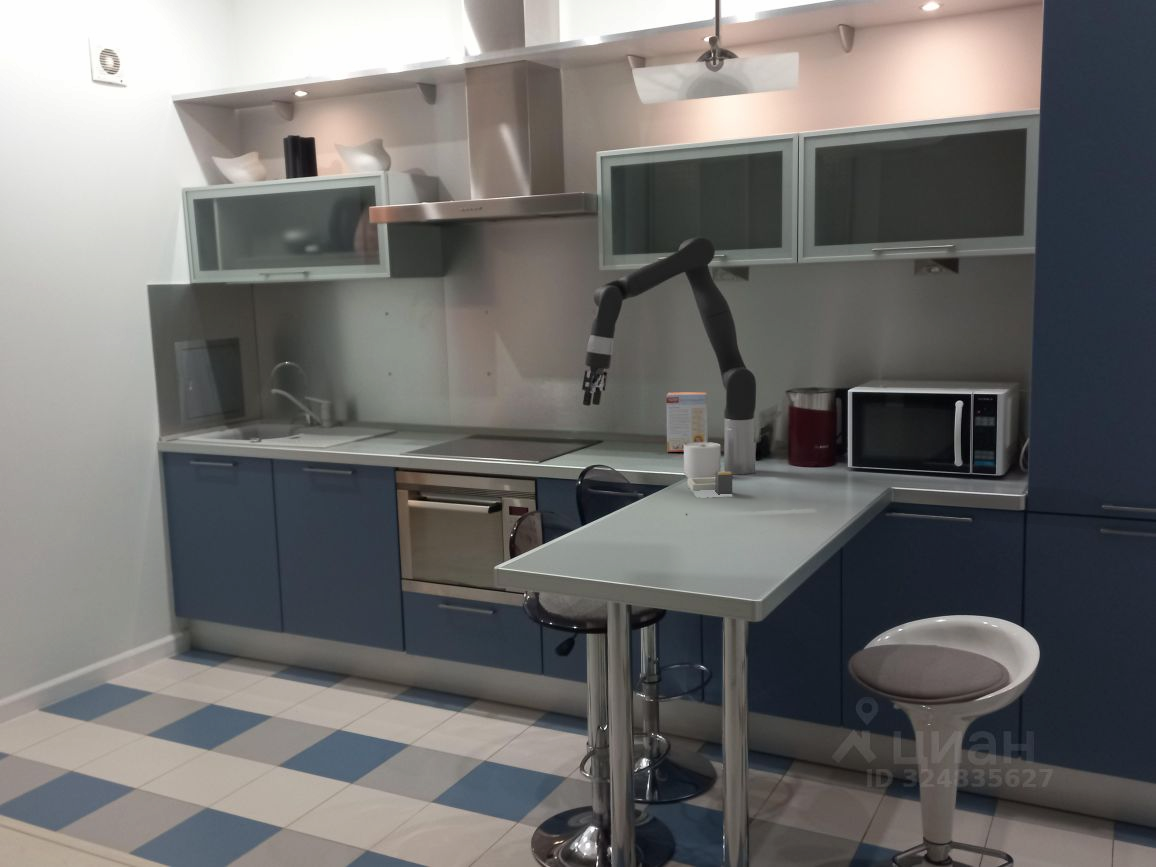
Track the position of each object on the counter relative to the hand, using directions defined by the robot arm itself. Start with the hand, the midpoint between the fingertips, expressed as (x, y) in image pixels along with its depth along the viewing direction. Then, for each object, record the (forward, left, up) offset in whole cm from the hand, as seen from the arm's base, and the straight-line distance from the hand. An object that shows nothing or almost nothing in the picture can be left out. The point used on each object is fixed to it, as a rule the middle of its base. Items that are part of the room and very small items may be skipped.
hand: (591, 404), depth 312 cm
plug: (-35, +26, -23) cm, 49 cm away
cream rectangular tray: (-32, +21, -24) cm, 45 cm away
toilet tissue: (-34, -3, -24) cm, 42 cm away
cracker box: (-37, -45, -24) cm, 63 cm away
